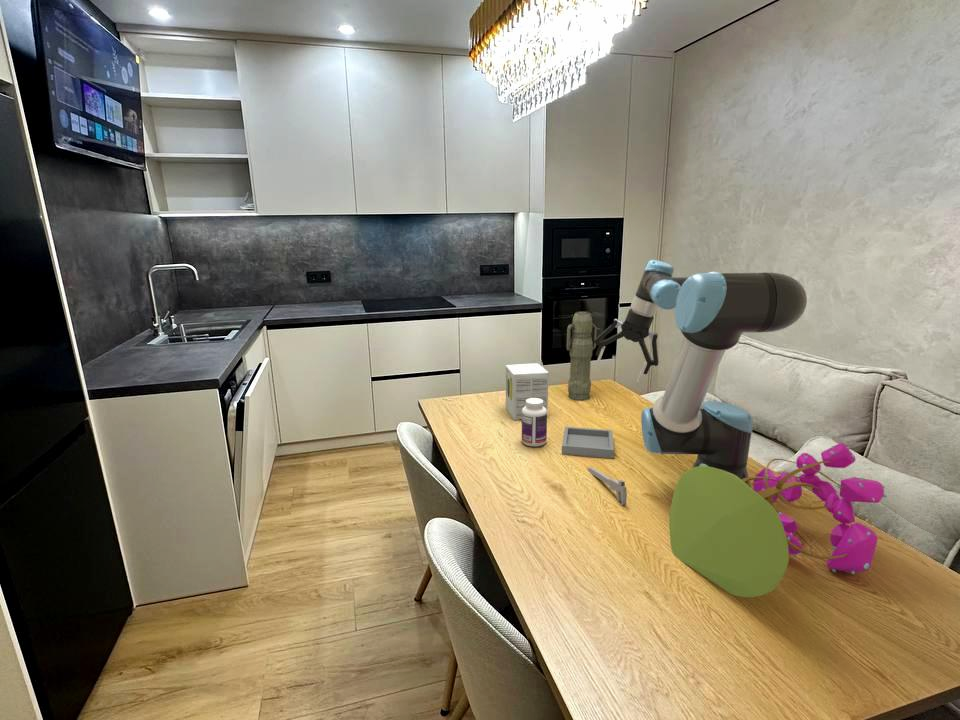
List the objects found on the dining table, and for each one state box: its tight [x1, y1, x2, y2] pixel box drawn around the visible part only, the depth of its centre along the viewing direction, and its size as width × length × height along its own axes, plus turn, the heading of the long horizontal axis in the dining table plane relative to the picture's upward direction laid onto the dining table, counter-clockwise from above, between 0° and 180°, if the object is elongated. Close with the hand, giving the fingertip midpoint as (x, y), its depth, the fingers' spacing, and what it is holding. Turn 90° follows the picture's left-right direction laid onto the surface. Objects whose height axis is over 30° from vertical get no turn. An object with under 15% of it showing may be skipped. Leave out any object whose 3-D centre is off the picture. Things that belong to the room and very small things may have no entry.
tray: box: [561, 426, 615, 459], centre depth 158 cm, size 15×15×3 cm
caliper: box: [587, 466, 628, 506], centre depth 133 cm, size 20×1×6 cm, turn 14°
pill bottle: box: [521, 398, 548, 448], centre depth 159 cm, size 8×8×14 cm
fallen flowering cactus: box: [668, 442, 888, 598], centre depth 103 cm, size 30×28×35 cm
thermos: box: [566, 310, 598, 402], centre depth 199 cm, size 9×12×35 cm
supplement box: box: [505, 362, 550, 421], centre depth 185 cm, size 13×13×18 cm
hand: (617, 373), depth 158 cm, fingers open, 13 cm apart
